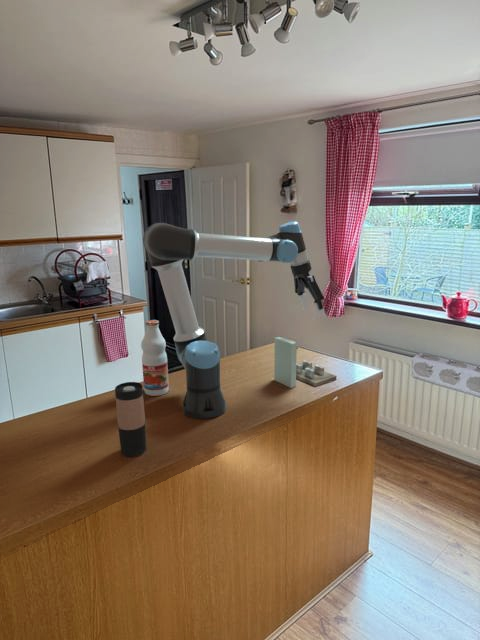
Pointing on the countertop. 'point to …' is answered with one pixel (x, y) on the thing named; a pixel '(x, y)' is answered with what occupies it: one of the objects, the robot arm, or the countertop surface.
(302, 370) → the hinge base
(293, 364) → the door
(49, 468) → the countertop surface
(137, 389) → the travel mug
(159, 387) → the fruit juice
